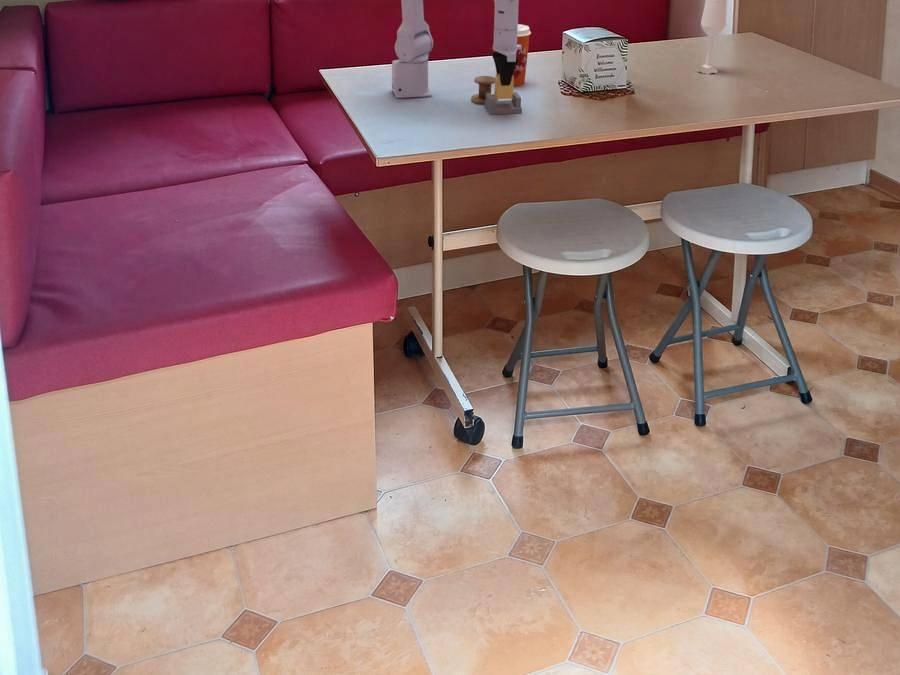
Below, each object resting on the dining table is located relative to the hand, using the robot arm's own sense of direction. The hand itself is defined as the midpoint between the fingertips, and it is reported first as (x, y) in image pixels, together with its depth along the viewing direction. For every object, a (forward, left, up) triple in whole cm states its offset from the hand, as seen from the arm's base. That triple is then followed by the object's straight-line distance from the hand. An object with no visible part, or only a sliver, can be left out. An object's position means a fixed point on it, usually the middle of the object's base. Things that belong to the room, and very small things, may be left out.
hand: (503, 83), depth 259 cm
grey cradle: (0, 0, -7) cm, 7 cm away
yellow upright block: (0, 0, -3) cm, 4 cm away
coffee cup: (+8, +22, -7) cm, 24 cm away
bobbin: (-3, +8, -7) cm, 11 cm away
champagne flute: (+65, +25, -7) cm, 70 cm away
